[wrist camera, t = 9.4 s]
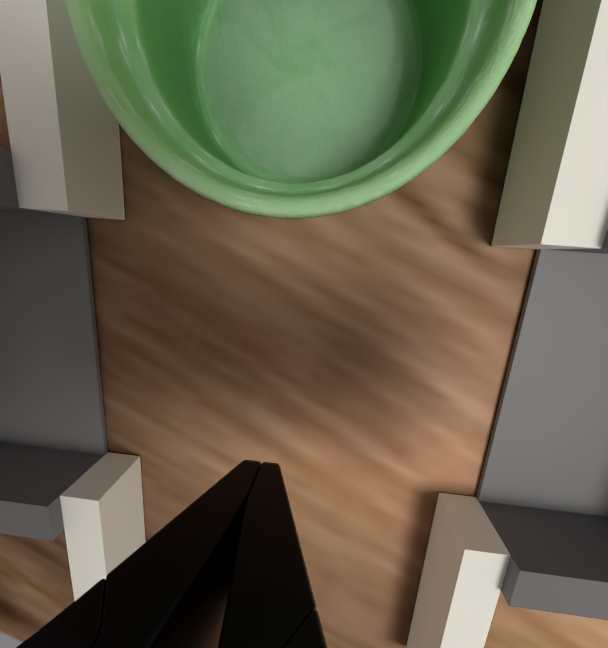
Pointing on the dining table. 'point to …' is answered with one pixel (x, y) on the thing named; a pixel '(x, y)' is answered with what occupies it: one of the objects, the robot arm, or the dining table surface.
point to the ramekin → (297, 90)
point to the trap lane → (521, 378)
